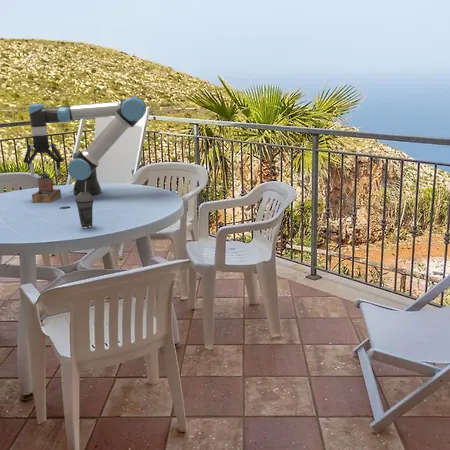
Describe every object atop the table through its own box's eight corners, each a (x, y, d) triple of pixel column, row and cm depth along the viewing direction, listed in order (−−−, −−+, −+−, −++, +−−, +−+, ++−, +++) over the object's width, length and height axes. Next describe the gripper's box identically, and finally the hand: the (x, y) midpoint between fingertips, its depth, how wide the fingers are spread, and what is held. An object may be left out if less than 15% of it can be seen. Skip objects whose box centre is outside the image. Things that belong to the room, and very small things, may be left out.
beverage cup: (79, 224, 223) (75, 179, 217) (96, 224, 223) (92, 179, 218) (76, 229, 216) (72, 183, 210) (94, 228, 216) (90, 182, 211)
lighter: (54, 191, 272) (52, 172, 269) (52, 192, 269) (50, 173, 266) (40, 191, 273) (38, 172, 270) (37, 192, 270) (35, 173, 267)
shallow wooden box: (61, 196, 278) (60, 189, 277) (51, 202, 265) (50, 194, 264) (43, 196, 279) (42, 189, 278) (32, 202, 265) (31, 194, 264)
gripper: (66, 133, 266) (70, 173, 271) (19, 134, 267) (25, 174, 273) (61, 134, 258) (66, 176, 264) (13, 136, 260) (19, 177, 265)
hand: (45, 175), depth 268 cm, fingers open, 13 cm apart
